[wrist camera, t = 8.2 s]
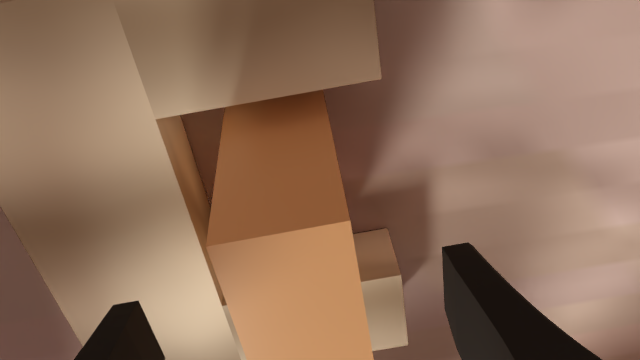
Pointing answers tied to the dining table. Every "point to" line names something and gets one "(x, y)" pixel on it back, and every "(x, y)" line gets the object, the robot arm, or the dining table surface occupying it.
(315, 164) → the orange brown rectangular block
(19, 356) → the dining table surface
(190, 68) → the notched board
